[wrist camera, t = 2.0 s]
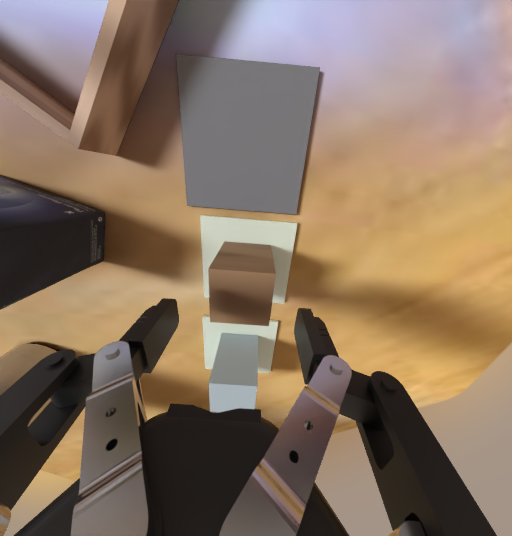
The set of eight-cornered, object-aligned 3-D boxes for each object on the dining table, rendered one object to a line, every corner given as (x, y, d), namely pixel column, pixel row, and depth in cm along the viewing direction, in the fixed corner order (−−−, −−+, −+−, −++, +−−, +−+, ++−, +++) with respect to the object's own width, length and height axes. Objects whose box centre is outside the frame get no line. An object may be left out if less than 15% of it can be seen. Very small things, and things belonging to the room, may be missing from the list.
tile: (283, 301, 24) (284, 304, 23) (205, 295, 24) (204, 298, 23) (296, 222, 20) (297, 223, 19) (201, 215, 20) (200, 215, 19)
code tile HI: (270, 370, 29) (270, 373, 29) (206, 366, 29) (205, 369, 29) (278, 320, 25) (278, 322, 25) (203, 314, 25) (202, 317, 25)
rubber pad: (295, 213, 19) (296, 214, 19) (188, 205, 19) (187, 205, 19) (318, 70, 15) (319, 67, 14) (178, 57, 15) (175, 53, 14)
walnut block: (266, 285, 22) (268, 326, 16) (224, 282, 22) (210, 322, 16) (270, 244, 20) (275, 273, 14) (224, 241, 20) (208, 268, 14)
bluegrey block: (255, 361, 28) (253, 414, 21) (221, 358, 28) (210, 411, 21) (257, 335, 26) (257, 386, 19) (221, 333, 26) (208, 383, 19)
